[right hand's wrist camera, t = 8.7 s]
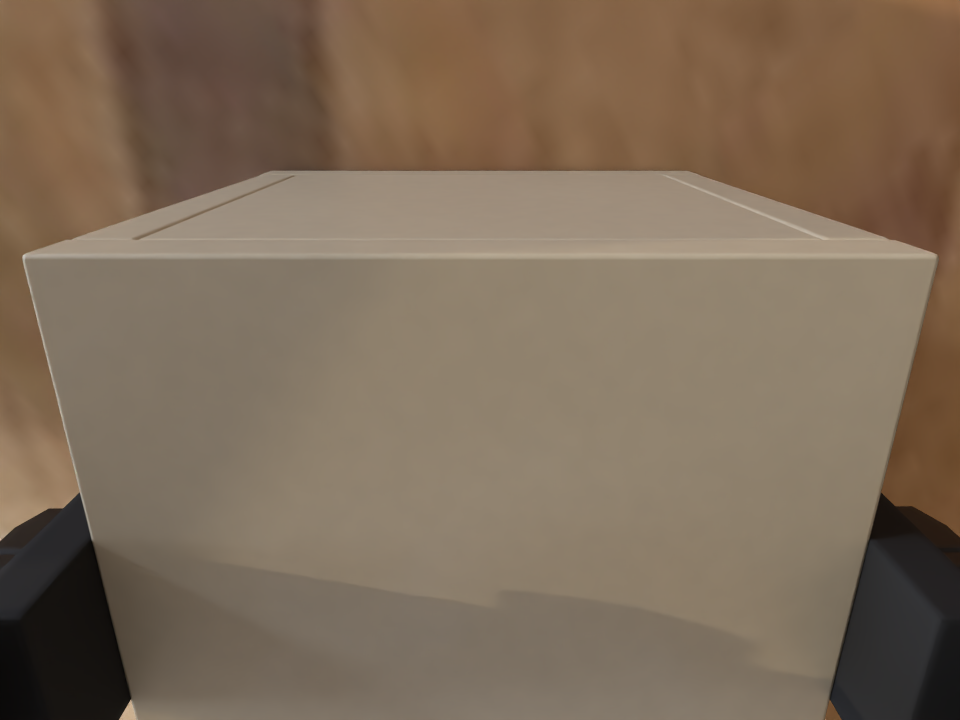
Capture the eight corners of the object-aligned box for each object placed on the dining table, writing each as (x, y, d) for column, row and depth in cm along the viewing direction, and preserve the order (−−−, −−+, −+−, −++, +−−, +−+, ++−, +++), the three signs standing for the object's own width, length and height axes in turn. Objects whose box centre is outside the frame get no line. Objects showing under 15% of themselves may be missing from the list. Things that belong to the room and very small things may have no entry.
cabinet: (625, 761, 23) (715, 1165, 14) (334, 761, 23) (244, 1165, 14) (690, 170, 16) (943, 254, 7) (270, 170, 16) (16, 254, 7)
